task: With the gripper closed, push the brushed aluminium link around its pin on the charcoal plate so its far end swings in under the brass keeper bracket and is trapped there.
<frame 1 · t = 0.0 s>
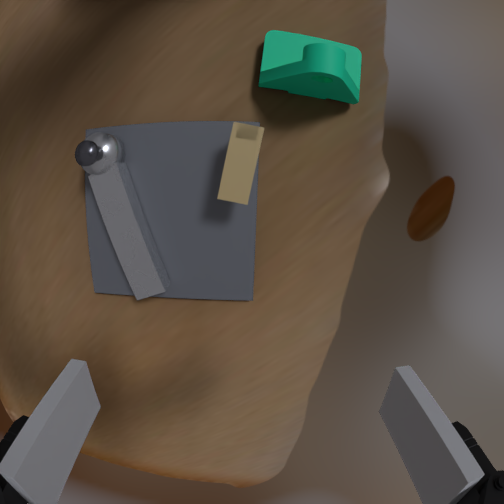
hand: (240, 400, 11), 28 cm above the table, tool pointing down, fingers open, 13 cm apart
link: (118, 215, 32), point 5 cm above the table, hinge at -60.0°
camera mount: (308, 69, 33), on the table
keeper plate: (167, 211, 37), on the table
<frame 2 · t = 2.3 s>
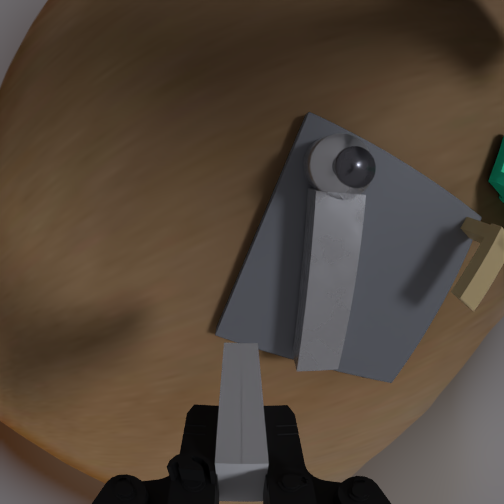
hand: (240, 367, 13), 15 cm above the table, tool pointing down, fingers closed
link: (334, 265, 23), point 5 cm above the table, hinge at -60.0°
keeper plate: (361, 269, 29), on the table
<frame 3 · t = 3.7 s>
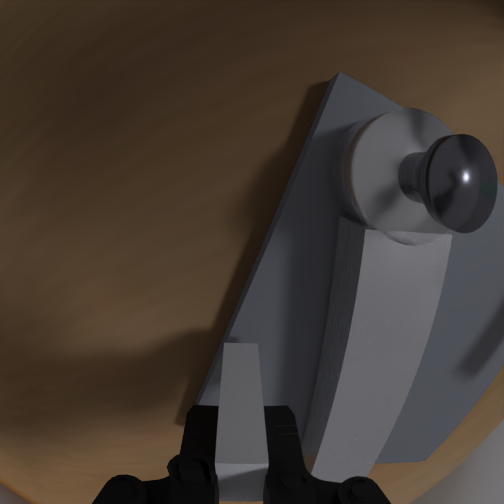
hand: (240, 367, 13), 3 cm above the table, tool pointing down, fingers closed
link: (383, 363, 12), point 5 cm above the table, hinge at -60.0°
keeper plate: (409, 337, 17), on the table
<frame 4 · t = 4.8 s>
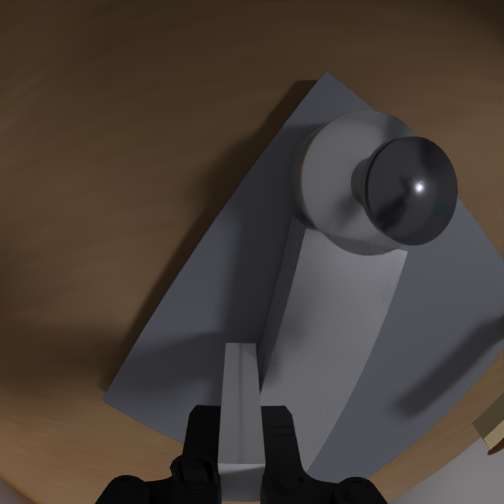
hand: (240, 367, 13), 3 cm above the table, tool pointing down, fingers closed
link: (314, 375, 11), point 5 cm above the table, hinge at -55.8°, touching gripper
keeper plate: (347, 359, 17), on the table
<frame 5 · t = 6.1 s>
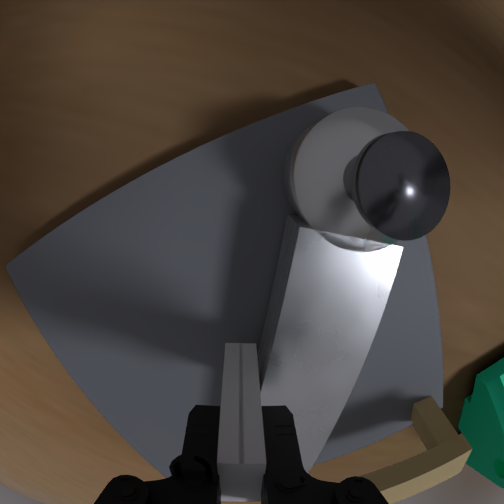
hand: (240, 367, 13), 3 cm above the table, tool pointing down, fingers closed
link: (314, 373, 12), point 5 cm above the table, hinge at -23.2°, touching gripper
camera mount: (488, 392, 20), on the table
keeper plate: (249, 355, 17), on the table
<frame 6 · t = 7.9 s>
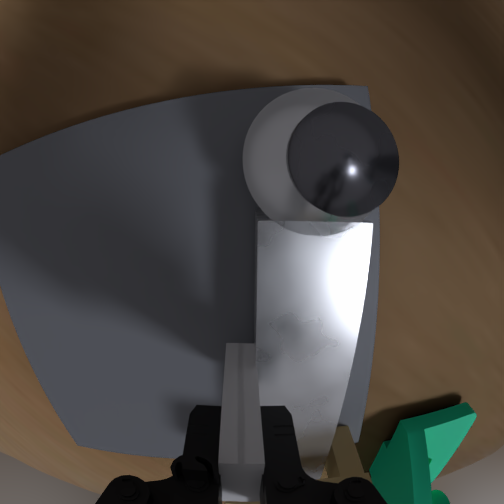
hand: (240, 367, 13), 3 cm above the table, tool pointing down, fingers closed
link: (305, 364, 12), point 5 cm above the table, hinge at 3.6°, touching gripper
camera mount: (410, 445, 21), on the table
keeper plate: (169, 320, 16), on the table
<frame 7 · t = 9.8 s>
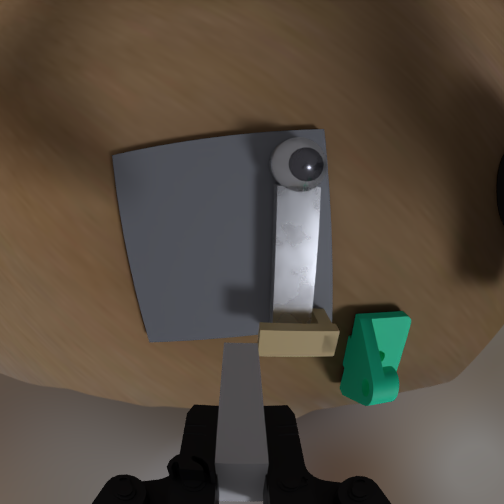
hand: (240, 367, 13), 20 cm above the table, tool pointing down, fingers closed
link: (296, 248, 28), point 5 cm above the table, hinge at 3.6°
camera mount: (370, 346, 38), on the table
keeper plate: (227, 241, 33), on the table
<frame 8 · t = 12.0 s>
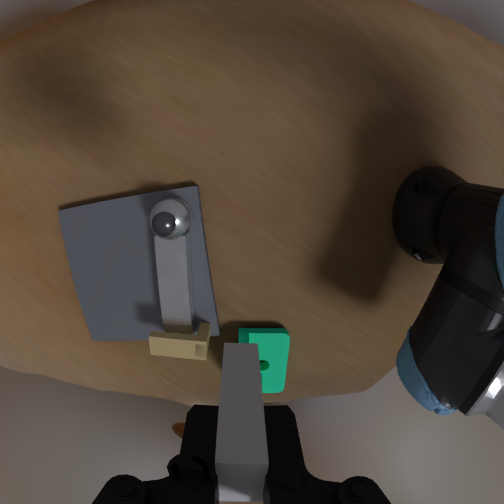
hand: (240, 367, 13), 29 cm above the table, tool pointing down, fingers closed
link: (172, 279, 38), point 5 cm above the table, hinge at 3.6°
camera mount: (261, 355, 48), on the table
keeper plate: (137, 270, 43), on the table
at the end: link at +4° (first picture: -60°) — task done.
